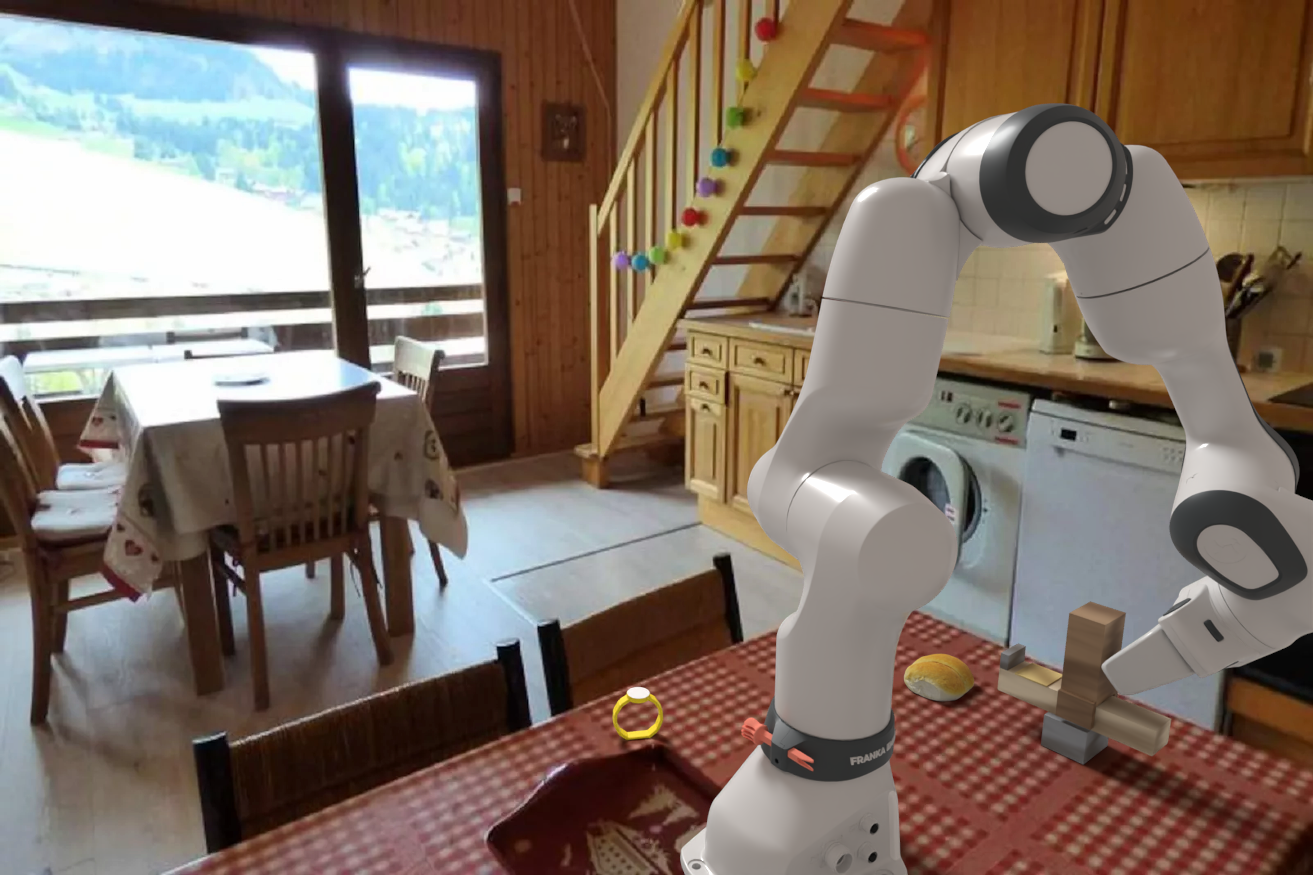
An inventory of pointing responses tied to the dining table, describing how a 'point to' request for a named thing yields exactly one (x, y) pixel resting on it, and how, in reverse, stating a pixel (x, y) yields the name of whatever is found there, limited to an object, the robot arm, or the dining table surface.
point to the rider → (1088, 661)
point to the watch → (637, 697)
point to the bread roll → (939, 677)
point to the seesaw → (1067, 737)
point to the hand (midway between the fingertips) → (1114, 670)
